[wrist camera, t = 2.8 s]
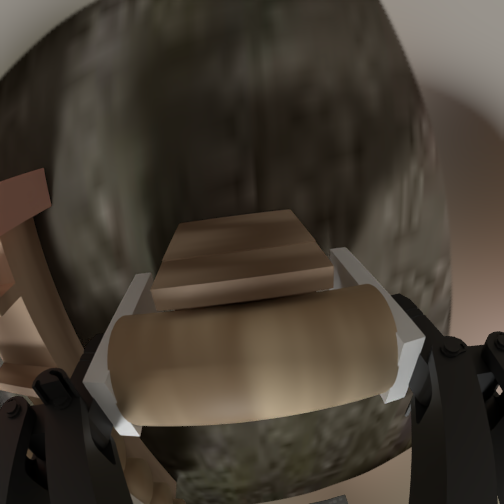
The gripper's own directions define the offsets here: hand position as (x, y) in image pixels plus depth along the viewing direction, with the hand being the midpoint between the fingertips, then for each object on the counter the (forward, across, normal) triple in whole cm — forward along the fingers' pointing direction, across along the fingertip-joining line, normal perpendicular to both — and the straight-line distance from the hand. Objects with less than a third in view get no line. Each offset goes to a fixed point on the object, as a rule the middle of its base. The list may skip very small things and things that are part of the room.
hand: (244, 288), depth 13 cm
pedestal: (+1, 0, 0) cm, 1 cm away
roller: (-3, 0, 0) cm, 3 cm away
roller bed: (+1, -13, -10) cm, 16 cm away
